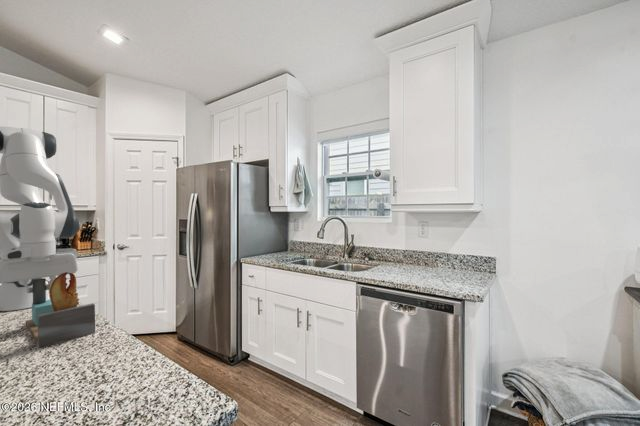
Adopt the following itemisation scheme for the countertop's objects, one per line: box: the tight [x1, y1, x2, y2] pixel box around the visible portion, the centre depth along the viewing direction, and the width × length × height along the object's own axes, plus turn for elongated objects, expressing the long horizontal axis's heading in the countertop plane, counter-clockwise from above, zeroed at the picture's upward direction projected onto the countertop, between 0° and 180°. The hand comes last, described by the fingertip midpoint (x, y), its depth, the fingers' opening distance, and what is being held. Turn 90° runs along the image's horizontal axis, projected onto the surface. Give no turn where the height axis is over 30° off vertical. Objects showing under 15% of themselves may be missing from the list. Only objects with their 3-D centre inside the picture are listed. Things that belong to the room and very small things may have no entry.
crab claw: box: [48, 272, 80, 311], centre depth 92 cm, size 7×5×20 cm
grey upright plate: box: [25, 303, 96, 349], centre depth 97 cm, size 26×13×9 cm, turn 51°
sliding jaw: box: [31, 277, 54, 326], centre depth 101 cm, size 7×10×14 cm
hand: (39, 291), depth 100 cm, fingers closed on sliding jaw, 3 cm apart
